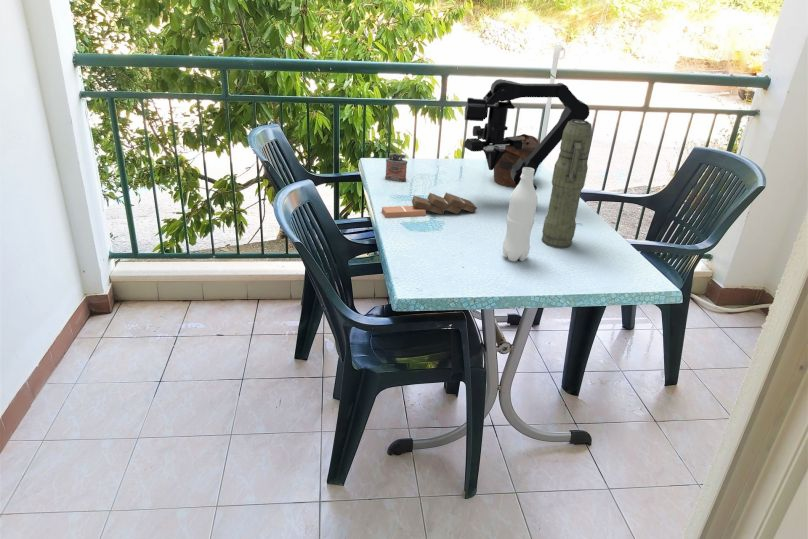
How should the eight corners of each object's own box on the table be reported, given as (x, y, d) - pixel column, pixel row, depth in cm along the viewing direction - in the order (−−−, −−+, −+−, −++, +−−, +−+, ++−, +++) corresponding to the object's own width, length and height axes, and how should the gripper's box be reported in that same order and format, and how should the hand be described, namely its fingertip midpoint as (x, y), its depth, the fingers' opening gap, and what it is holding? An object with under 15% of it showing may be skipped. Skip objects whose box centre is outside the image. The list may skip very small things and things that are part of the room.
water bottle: (509, 249, 158) (522, 163, 147) (532, 257, 154) (547, 169, 143) (496, 257, 153) (509, 168, 142) (519, 266, 149) (534, 175, 138)
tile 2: (456, 202, 184) (430, 192, 180) (461, 208, 179) (434, 198, 175) (453, 208, 184) (427, 198, 180) (458, 214, 180) (431, 204, 176)
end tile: (421, 205, 181) (382, 206, 178) (425, 210, 177) (385, 212, 174) (420, 210, 182) (381, 212, 179) (425, 216, 178) (385, 218, 174)
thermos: (567, 234, 170) (591, 117, 154) (575, 251, 160) (602, 127, 144) (538, 232, 170) (558, 115, 155) (544, 248, 160) (567, 125, 144)
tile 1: (470, 200, 186) (446, 192, 181) (477, 207, 182) (452, 198, 177) (467, 206, 186) (443, 198, 181) (474, 213, 182) (449, 204, 177)
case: (533, 175, 222) (540, 130, 214) (537, 192, 205) (544, 143, 196) (488, 172, 224) (493, 127, 216) (487, 188, 207) (493, 139, 198)
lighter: (383, 179, 208) (384, 153, 204) (386, 177, 211) (387, 150, 206) (404, 182, 206) (406, 156, 202) (407, 180, 209) (408, 153, 205)
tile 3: (442, 203, 183) (413, 195, 181) (445, 208, 179) (415, 200, 176) (440, 209, 184) (411, 201, 182) (443, 214, 180) (413, 206, 177)
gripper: (509, 115, 188) (502, 161, 195) (459, 117, 181) (454, 164, 188) (527, 123, 178) (520, 171, 185) (475, 125, 172) (469, 174, 179)
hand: (490, 169), depth 185 cm, fingers closed
